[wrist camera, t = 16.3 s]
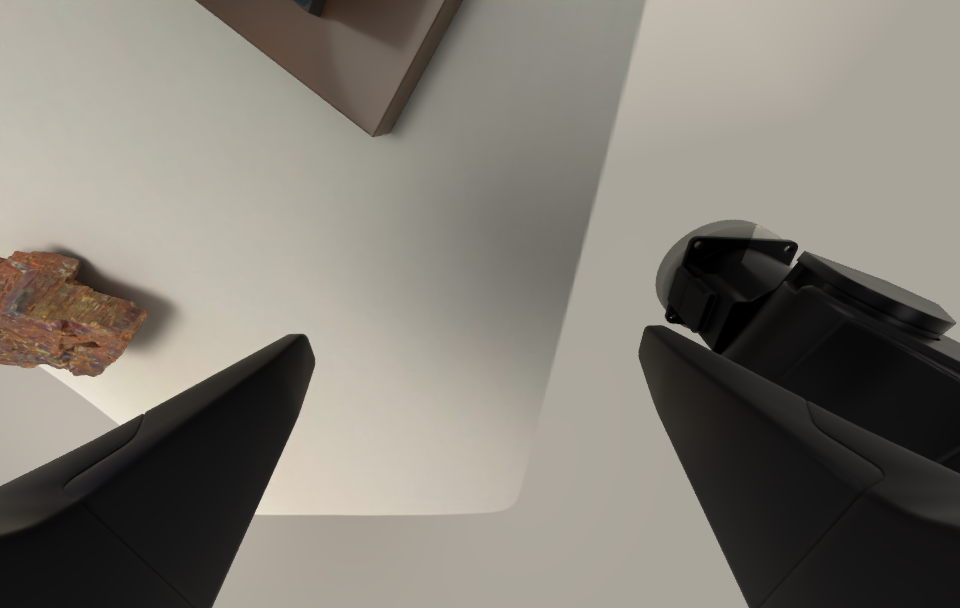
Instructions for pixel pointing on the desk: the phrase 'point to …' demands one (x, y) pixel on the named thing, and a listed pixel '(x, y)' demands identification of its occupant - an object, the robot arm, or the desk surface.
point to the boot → (311, 6)
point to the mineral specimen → (60, 316)
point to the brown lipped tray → (347, 48)
